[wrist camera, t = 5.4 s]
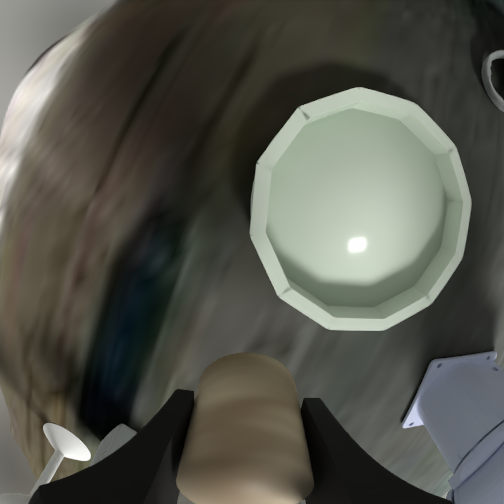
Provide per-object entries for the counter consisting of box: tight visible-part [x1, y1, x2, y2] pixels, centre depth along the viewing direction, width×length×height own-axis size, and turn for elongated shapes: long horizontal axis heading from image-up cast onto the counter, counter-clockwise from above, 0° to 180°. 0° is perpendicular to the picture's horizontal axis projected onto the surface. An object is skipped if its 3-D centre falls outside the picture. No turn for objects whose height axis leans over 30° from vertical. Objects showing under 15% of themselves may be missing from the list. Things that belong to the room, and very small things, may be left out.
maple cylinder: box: [176, 353, 314, 504], centre depth 9 cm, size 4×4×5 cm
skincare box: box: [90, 424, 137, 466], centre depth 17 cm, size 6×4×12 cm
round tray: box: [250, 87, 472, 331], centre depth 16 cm, size 14×14×3 cm
